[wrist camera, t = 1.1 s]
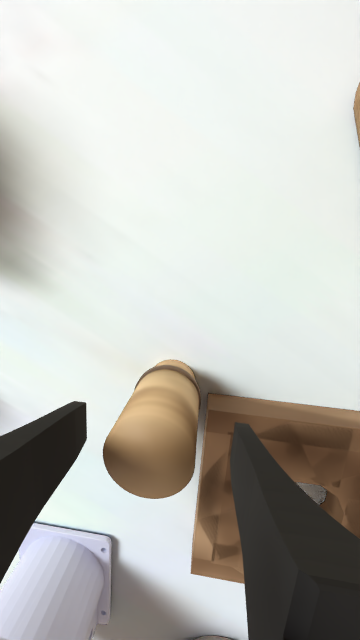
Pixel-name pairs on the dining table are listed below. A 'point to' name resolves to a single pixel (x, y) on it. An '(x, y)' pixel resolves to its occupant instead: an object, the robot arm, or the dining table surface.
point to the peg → (156, 433)
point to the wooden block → (357, 111)
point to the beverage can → (212, 638)
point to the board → (289, 452)
